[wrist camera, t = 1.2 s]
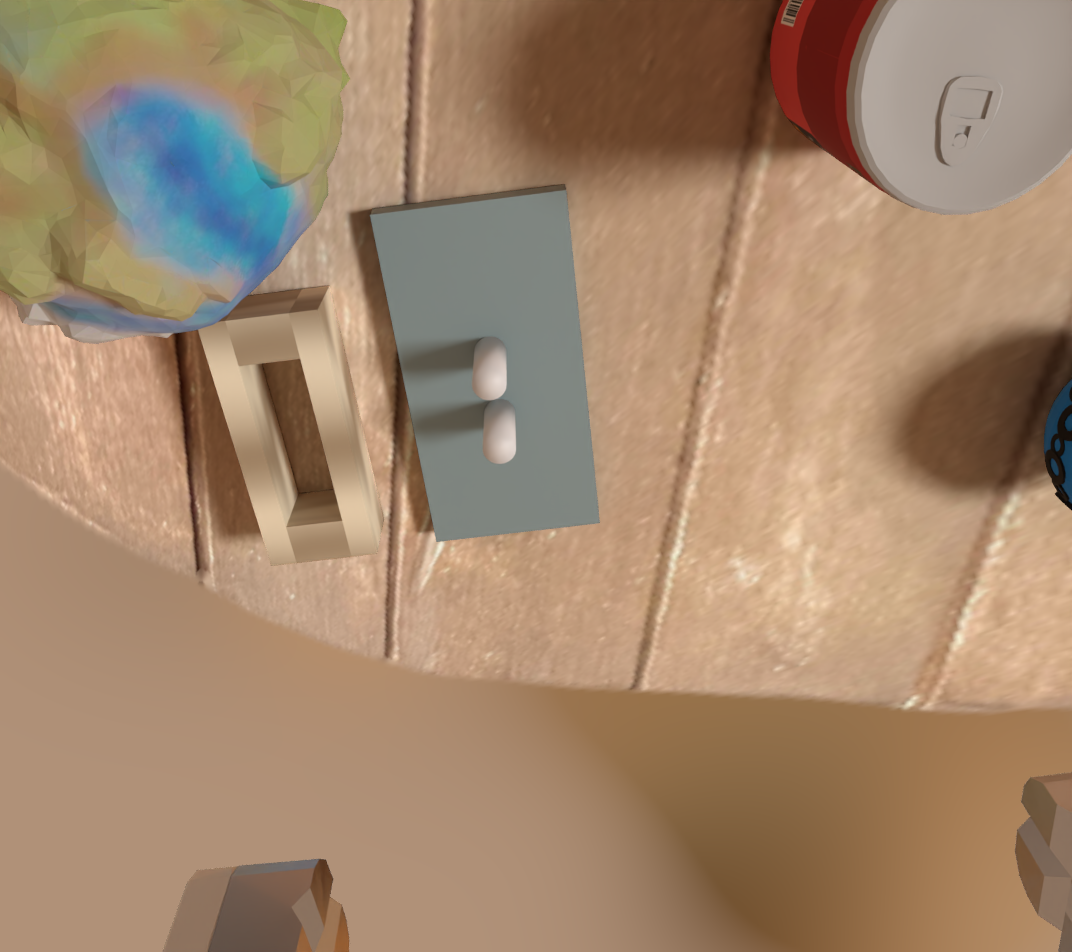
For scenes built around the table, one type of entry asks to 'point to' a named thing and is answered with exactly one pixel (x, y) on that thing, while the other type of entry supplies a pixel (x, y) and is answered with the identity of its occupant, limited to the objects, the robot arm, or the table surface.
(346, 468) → the beige wooden rectangular frame
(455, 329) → the boss board
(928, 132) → the canned food
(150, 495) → the table surface
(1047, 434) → the ornament
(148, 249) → the decorative rock
